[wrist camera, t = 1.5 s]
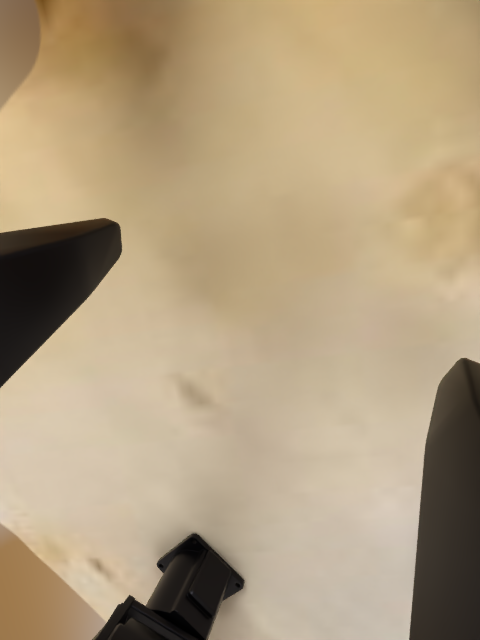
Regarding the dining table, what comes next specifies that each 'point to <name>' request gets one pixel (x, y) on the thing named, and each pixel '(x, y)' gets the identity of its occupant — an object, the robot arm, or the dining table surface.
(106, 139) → the dining table surface
